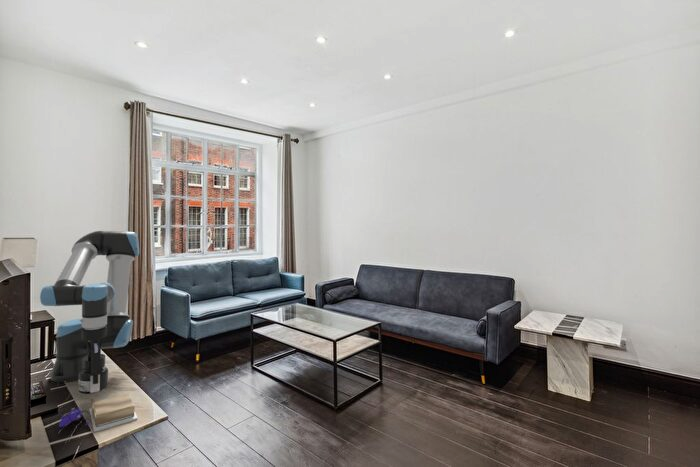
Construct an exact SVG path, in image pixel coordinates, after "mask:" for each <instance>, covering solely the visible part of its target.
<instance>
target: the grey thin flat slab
mask: <svg viewBox="0 0 700 467" xmlns="http://www.w3.org/2000/svg"><path fill="white" fill-rule="evenodd" d="M88 410H89V413H90V414H89V416H90V415H91V417H90V419H91V422H92V423H91V424H92V428H93V432H98V431H102V430H106V429H109V428H112V427H115V426H118V425H123V424H125V423H130V422H133V421H137V420H138V415H137V413H136V412H135V410H134V415H132V416H128V417H125V418H121V419H118V420H114V421H111V422H107V423H104V424H100V425H96V426H95V422H94V418H93V414H92V407H89V409H88Z"/></svg>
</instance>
